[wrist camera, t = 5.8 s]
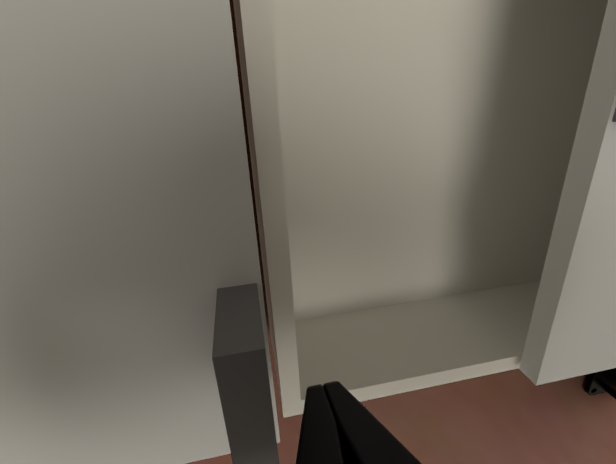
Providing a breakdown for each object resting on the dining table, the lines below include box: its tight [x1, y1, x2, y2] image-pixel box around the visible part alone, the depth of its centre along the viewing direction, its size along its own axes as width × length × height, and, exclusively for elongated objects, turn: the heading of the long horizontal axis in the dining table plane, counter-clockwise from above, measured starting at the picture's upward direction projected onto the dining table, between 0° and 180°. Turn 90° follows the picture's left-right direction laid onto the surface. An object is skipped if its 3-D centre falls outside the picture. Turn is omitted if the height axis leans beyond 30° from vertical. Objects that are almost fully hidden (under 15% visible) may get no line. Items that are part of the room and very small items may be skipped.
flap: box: [0, 0, 280, 464], centre depth 8 cm, size 18×11×4 cm, turn 3°
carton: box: [233, 0, 608, 418], centre depth 16 cm, size 19×22×6 cm
